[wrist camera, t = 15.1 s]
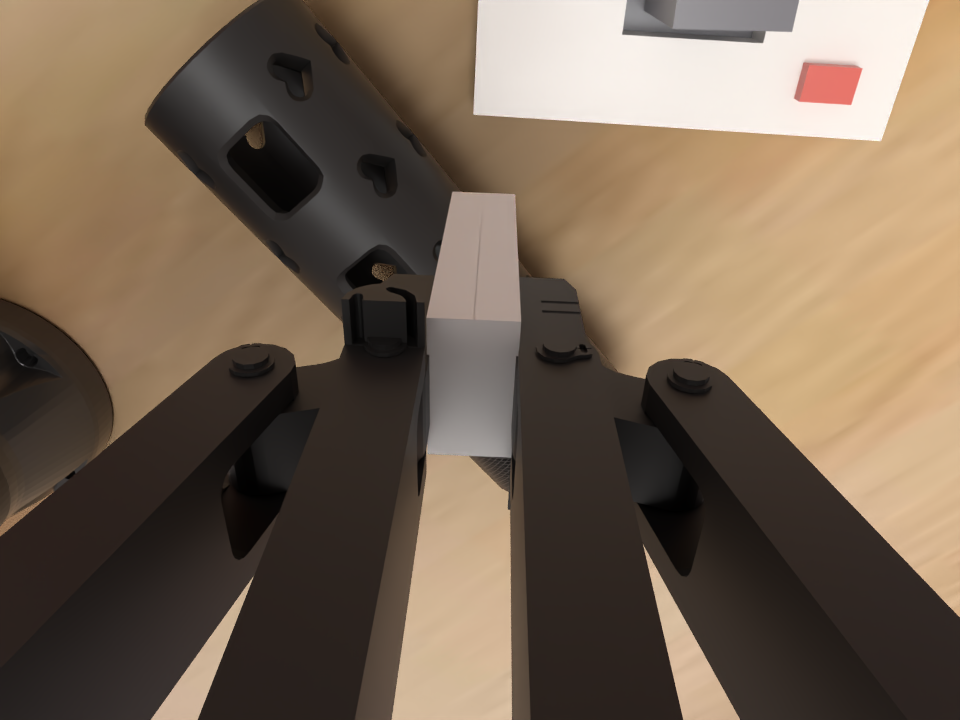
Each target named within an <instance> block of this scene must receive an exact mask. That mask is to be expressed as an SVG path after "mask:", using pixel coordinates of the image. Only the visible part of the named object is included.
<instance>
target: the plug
mask: <svg viewBox="0 0 960 720" xmlns="http://www.w3.org/2000/svg"><path fill="white" fill-rule="evenodd" d="M798 4H799V0H645V5H644V11H645V12H647V13H648V14H650V15H651V16H653V17H655V18H656V19H658V20H659V21H661V22H663V23H664V24H666V25H667V26H669V27H670V28H672V29H696V30H735V31H774V32H792V30H793V26H794V21H795V17H796V12H797V8H798Z"/></svg>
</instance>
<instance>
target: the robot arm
mask: <svg viewBox="0 0 960 720" xmlns="http://www.w3.org/2000/svg"><path fill="white" fill-rule="evenodd" d="M341 303H342V316H343V328H344V341H345V345H344V348H343V350H342V353H341V356H340V358H339V359H336V360H334V361H331V362H327V363H322V364H317V365H310V366H303V367H296V363H295V358H294V355H293V354H292V353H291V352H290V351H288V350H287V349H286V348H282V347H279V346H276V345H270V344H261V343H254V344H252V345H250V344H246V345H241V346H239V347H237V348H233V349H230V350H227V351H225V352H223V353H222V354H220V355H218V356H217V357H215V358H214V359H213V360H211V361H210V362H209V363H208V364H207V365H205V366H204V367H203V368H202V369H201V370H199V371H198V372H197V373H196V374H195V375H193V376H192V377H191V378H190V379H189V380H187V381H186V382H185V383H184V384H183V385H181V386H180V387H179V388H178V389H177V390H175V391H174V392H173V393H172V394H171V395H169V396H168V397H167V398H166V399H165V400H163V401H162V402H161V403H160V404H159V405H157V406H156V407H155V408H154V409H153V410H151V411H150V412H149V413H148V414H147V415H145V416H144V417H143V418H142V419H141V420H140V421H138V422H137V423H136V424H135V425H134V426H132V427H131V428H130V429H129V430H128V431H126V432H125V433H124V434H123V435H122V436H120V437H119V438H118V439H117V440H116V441H114V442H113V443H112V444H111V445H110V446H108V447H107V448H106V449H105V450H104V451H103V449H104V448H105V446H106V444H107V442H108V440H109V438H110V434H111V431H112V423H113V415H112V406H111V402H110V398H109V395H108V392H107V389H106V387H105V385H104V383H103V381H102V379H101V377H100V375H99V373H98V372H97V370H96V369H95V367H94V366H93V364H92V363H91V362H90V360H89V359H88V358H87V357H86V355H85V354H84V353H83V352H82V351H81V350H80V349H79V348H78V347H77V346H76V344H74V343H73V342H72V341H71V340H70V339H69V338H68V337H67V336H66V335H64V334H63V333H62V332H61V331H59V330H58V329H57V328H56V327H54V326H53V325H51V324H50V323H48V322H47V321H45V320H44V319H42V318H40V317H39V316H37V315H35V314H33V313H32V312H30V311H28V310H26V309H24V308H21V307H19V306H17V305H14V304H12V303H9V302H6V301H4V300H0V526H1V525H2V524H3V522H4V521H5V520H7V519H8V518H10V517H11V516H13V515H15V514H17V513H18V512H20V511H22V510H24V509H26V508H27V507H29V506H31V505H33V504H34V503H36V502H38V501H40V500H41V499H43V498H45V497H46V496H48V495H49V494H51V493H52V492H53V493H52V494H51V495H50V496H48V497H47V498H46V499H45V500H44V501H42V502H41V503H40V504H39V505H38V506H36V507H35V508H34V509H33V510H32V511H31V512H29V513H28V514H27V515H26V516H25V517H23V518H22V519H21V520H20V521H19V522H17V523H16V524H15V525H14V526H13V527H11V528H10V529H9V530H8V531H7V532H5V533H4V534H3V535H2V536H1V537H0V720H151V718H152V717H153V716H154V714H155V713H156V711H157V710H158V709H159V707H160V706H161V704H162V703H163V702H164V700H165V699H166V697H167V696H168V695H169V693H170V692H171V690H172V689H173V688H174V686H175V685H176V683H177V682H178V681H179V679H180V678H181V676H182V675H183V674H184V672H185V671H186V669H187V668H188V667H189V665H190V664H191V662H192V661H193V660H194V658H195V657H196V656H197V654H198V653H199V651H200V650H201V649H202V647H203V646H204V644H205V643H206V642H207V640H208V639H209V637H210V636H211V635H212V633H213V632H214V630H215V629H216V628H217V626H218V625H219V623H220V622H221V621H222V619H223V618H224V616H225V615H226V614H227V612H228V611H229V609H230V608H231V607H232V605H233V604H234V602H235V601H236V600H237V598H238V597H239V595H240V594H241V593H242V591H243V590H244V588H245V587H246V586H247V584H248V583H249V581H250V580H251V579H252V577H253V576H254V578H253V580H252V583H251V585H250V588H249V590H248V593H247V595H246V598H245V601H244V603H243V606H242V608H241V611H240V613H239V616H238V618H237V621H236V624H235V626H234V629H233V631H232V634H231V636H230V639H229V641H228V644H227V647H226V649H225V652H224V654H223V657H222V659H221V662H220V664H219V667H218V670H217V672H216V675H215V677H214V680H213V682H212V685H211V687H210V690H209V692H208V695H207V698H206V700H205V703H204V705H203V708H202V710H201V713H200V715H199V718H198V720H391V719H392V712H393V705H394V698H395V691H396V684H397V677H398V670H399V663H400V655H401V648H402V641H403V634H404V627H405V620H406V613H407V606H408V599H409V592H410V585H411V578H412V571H413V564H414V557H415V550H416V542H417V535H418V528H419V521H420V514H421V507H422V500H423V493H424V486H425V479H426V447H427V441H428V454H438V455H461V456H485V457H508V458H511V470H510V484H509V499H508V509H509V510H510V524H511V642H512V720H683V717H682V713H681V709H680V704H679V700H678V695H677V691H676V687H675V682H674V678H673V674H672V669H671V665H670V661H669V656H668V652H667V647H666V643H665V639H664V634H663V630H662V626H661V621H660V617H659V613H658V608H657V604H656V600H655V595H654V591H653V586H652V582H651V578H650V573H649V569H648V565H647V560H646V556H645V552H644V547H645V548H646V550H647V552H648V554H649V556H650V557H651V559H652V561H653V563H654V565H655V566H656V568H657V570H658V572H659V574H660V575H661V577H662V579H663V581H664V583H665V584H666V586H667V588H668V590H669V592H670V593H671V595H672V597H673V599H674V601H675V602H676V604H677V606H678V608H679V610H680V612H681V613H682V615H683V617H684V619H685V621H686V622H687V624H688V626H689V628H690V630H691V631H692V633H693V635H694V637H695V639H696V640H697V642H698V644H699V646H700V648H701V649H702V651H703V653H704V655H705V657H706V658H707V660H708V662H709V664H710V666H711V668H712V669H713V671H714V673H715V675H716V677H717V678H718V680H719V682H720V684H721V686H722V687H723V689H724V691H725V693H726V695H727V696H728V698H729V700H730V702H731V704H732V705H733V707H734V709H735V711H736V713H737V714H738V716H739V718H740V720H960V617H959V616H958V615H957V614H956V613H955V612H954V611H953V610H952V609H951V608H950V607H949V606H948V605H947V604H946V603H945V602H944V601H943V600H942V599H941V598H940V597H939V596H938V595H937V593H936V592H935V591H934V590H933V589H932V588H931V587H930V586H929V585H928V584H927V583H926V582H925V581H924V580H923V579H922V578H921V577H920V576H919V575H918V574H917V573H916V572H915V571H914V570H913V568H912V567H911V566H910V565H909V564H908V563H907V562H906V561H905V560H904V559H903V558H902V557H901V556H900V555H899V554H898V553H897V552H896V551H895V550H894V549H893V548H892V547H891V546H890V545H889V543H888V542H887V541H886V540H885V539H884V538H883V537H882V536H881V535H880V534H879V533H878V532H877V531H876V530H875V529H874V528H873V527H872V526H871V525H870V524H869V523H868V522H867V521H866V520H865V518H864V517H863V516H862V515H861V514H860V513H859V512H858V511H857V510H856V509H855V508H854V507H853V506H852V505H851V504H850V503H849V502H848V501H847V500H846V499H845V498H844V497H843V496H842V495H841V493H840V492H839V491H838V490H837V489H836V488H835V487H834V486H833V485H832V484H831V483H830V482H829V481H828V480H827V479H826V478H825V477H824V476H823V475H822V474H821V473H820V472H819V471H818V469H817V468H816V467H815V466H814V465H813V464H812V463H811V462H810V461H809V460H808V459H807V458H806V457H805V456H804V455H803V454H802V453H801V452H800V451H799V450H798V449H797V448H796V447H795V446H794V444H793V443H792V442H791V441H790V440H789V439H788V438H787V437H786V436H785V435H784V434H783V433H782V432H781V431H780V430H779V429H778V428H777V427H776V426H775V425H774V424H773V423H772V422H771V421H770V419H769V418H768V417H767V416H766V415H765V414H764V413H763V412H762V411H761V410H760V409H759V408H758V407H757V406H756V405H755V404H754V403H753V402H752V401H751V400H750V399H749V398H748V397H747V396H746V394H745V393H744V392H743V391H742V390H741V389H740V388H739V387H738V386H737V385H736V384H735V383H734V382H733V381H732V380H731V379H730V378H729V377H728V376H727V375H725V374H724V373H723V372H721V371H720V370H719V369H717V368H715V367H712V366H710V365H708V364H705V363H704V362H701V361H697V360H695V361H693V359H668V360H663V361H659V362H657V363H655V364H654V365H652V366H650V367H649V369H648V372H647V375H646V379H642V378H637V377H633V376H628V375H625V374H621V373H618V372H615V371H613V370H610V369H608V368H606V367H604V366H603V365H602V364H601V360H600V355H599V353H598V352H597V350H596V348H595V347H594V346H593V345H591V344H590V343H588V342H587V339H586V335H585V330H584V325H583V320H582V316H581V311H580V306H579V301H578V297H577V292H576V289H574V288H573V287H572V286H571V285H570V284H569V283H568V282H567V281H566V280H564V279H555V278H530V277H519V266H518V245H517V224H516V203H515V194H500V193H474V192H452V196H451V201H450V206H449V211H448V216H447V220H446V225H445V230H444V235H443V240H442V245H441V249H440V254H439V259H438V264H437V269H436V274H435V275H410V274H393V275H391V276H390V277H389V278H387V279H386V280H385V281H383V282H382V283H380V284H371V285H367V286H362V287H358V288H356V289H354V290H352V291H350V292H347V293H346V295H345V296H344V297H343V298H342V299H341ZM643 545H644V547H643Z"/></svg>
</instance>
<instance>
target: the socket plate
mask: <svg viewBox="0 0 960 720" xmlns="http://www.w3.org/2000/svg"><path fill="white" fill-rule="evenodd" d="M928 2H929V0H799V4H798V8H797V12H796V17H795V21H794V26H793V30H792V32H774V31H735V30H696V29H672V28H670V27H669V26H667V25H666V24H664V23H663V22H661V21H659V20H658V19H656V18H655V17H653V16H651V15H650V14H648V13H647V12H645V11H644V5H645V0H478V20H477V44H476V67H475V90H474V114H473V115H487V116H502V117H518V118H533V119H549V120H564V121H579V122H595V123H610V124H626V125H641V126H657V127H672V128H687V129H703V130H718V131H734V132H749V133H765V134H780V135H796V136H811V137H826V138H842V139H857V140H873V141H881V140H882V137H883V134H884V131H885V128H886V125H887V122H888V119H889V116H890V113H891V110H892V107H893V105H894V102H895V99H896V96H897V93H898V90H899V87H900V84H901V81H902V78H903V75H904V72H905V69H906V67H907V64H908V61H909V58H910V55H911V52H912V49H913V46H914V43H915V40H916V37H917V34H918V32H919V29H920V26H921V23H922V20H923V17H924V14H925V11H926V8H927V5H928Z"/></svg>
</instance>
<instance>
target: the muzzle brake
mask: <svg viewBox="0 0 960 720" xmlns="http://www.w3.org/2000/svg"><path fill="white" fill-rule="evenodd" d="M259 122H260V123H261V132H262V140H263V143H262V146H261V148H259V149H254V148H252V147H251V146H250V145H249V144H248V142H247V138H246V136H245V134H246V133H247V132H248V131H249V130H250V129H251V128H252V127H253V126H254V125H256V124H258V123H259ZM145 126H146V127H147V128H148V129H149V130H150V131H151V132H152V133H153V134H154V135H155V136H156V137H157V138H158V139H159V140H160V141H161V142H162V143H163V144H164V145H165V146H166V147H167V148H168V149H169V150H170V151H171V152H172V153H173V154H174V155H175V156H176V157H177V158H178V159H179V160H180V161H181V162H182V163H183V164H184V165H185V166H186V167H187V168H188V169H189V170H190V171H192V172H193V173H194V174H195V175H196V176H197V177H198V179H199V180H200V181H201V182H202V183H203V184H204V185H205V186H206V187H207V188H208V189H209V190H210V191H211V192H212V193H213V194H214V195H215V196H216V197H217V198H218V199H219V200H220V201H221V202H222V203H223V204H224V205H225V206H226V207H227V208H228V209H229V210H230V211H231V212H232V213H233V214H234V215H235V216H236V217H237V218H238V219H239V220H240V221H241V222H242V223H243V224H244V225H245V226H246V227H247V228H248V229H249V230H250V231H251V232H252V233H253V234H254V235H255V236H256V237H257V238H258V239H259V240H260V241H261V242H262V243H263V244H264V245H265V246H266V247H267V248H268V249H269V250H270V251H271V252H272V253H273V254H274V255H276V256H277V257H278V258H279V259H280V260H281V261H282V262H283V264H284V265H285V266H286V267H287V268H288V269H289V270H290V271H291V272H292V273H293V274H294V275H295V276H296V277H297V278H299V279H300V280H301V281H302V282H303V283H304V284H305V285H306V286H307V287H308V288H309V289H310V290H311V291H312V292H313V293H314V294H315V295H316V296H317V297H318V298H319V299H320V300H321V301H322V302H323V303H324V304H325V305H326V306H327V307H328V308H329V309H330V310H331V311H332V312H333V313H334V314H335V315H336V316H337V317H338V318H339V319H340V320H341V321H342V322H343V316H342V303H341V299H342V298H343V297H344V296H345V295H346V293H347V292H350V291H352V290H354V289H356V288H358V287H362V286H367V285H371V284H380V283H382V282H383V281H382V280H379V279H377V278H375V277H374V276H373V274H372V267H373V265H374V264H380V265H387V266H393V274H410V275H435V274H436V269H437V264H438V259H439V254H440V249H441V245H442V240H443V235H444V230H445V225H446V220H447V216H448V211H449V206H450V201H451V196H452V192H462V191H461V190H460V189H459V188H458V187H457V185H456V184H455V183H454V182H453V181H452V179H451V178H450V177H449V176H448V175H447V173H446V172H445V171H444V170H443V169H442V167H441V166H440V165H439V164H438V163H437V161H436V160H435V159H434V158H433V157H432V155H431V154H430V153H429V152H428V151H427V149H426V148H425V147H424V146H423V145H422V143H421V142H420V141H419V140H418V139H417V137H416V136H415V135H414V134H413V133H412V131H411V130H410V129H409V128H408V126H407V125H406V124H405V123H404V122H403V120H402V119H401V118H400V117H399V116H398V114H397V113H396V112H395V111H394V110H393V108H392V107H391V106H390V105H389V104H388V102H387V101H386V100H385V99H384V98H383V96H382V95H381V94H380V93H379V92H378V90H377V89H376V88H375V87H374V86H373V84H372V83H371V82H370V81H369V79H368V78H367V77H366V76H365V75H364V73H363V72H362V71H361V70H360V69H359V67H358V66H357V65H356V64H355V63H354V61H353V60H352V59H351V58H350V57H349V55H348V54H347V53H346V52H345V51H344V49H343V48H342V47H341V46H340V45H339V44H338V42H337V41H336V40H335V39H334V37H333V36H332V35H331V34H330V33H329V31H328V30H327V29H326V28H325V27H324V25H323V24H322V23H321V22H320V20H319V19H318V18H317V17H316V16H315V14H314V13H313V12H312V11H311V10H310V8H309V7H308V6H307V5H306V4H305V2H304V1H303V0H258V1H257V2H255V3H254V4H252V5H251V6H249V7H248V8H247V9H245V10H244V11H243V12H241V13H240V14H239V15H237V16H236V17H235V18H234V19H233V20H231V21H230V22H229V23H228V24H227V25H225V26H224V27H223V28H222V29H221V30H220V31H218V32H217V33H216V34H215V35H214V36H213V37H212V38H211V39H209V40H208V41H207V42H206V43H205V44H204V45H203V46H202V47H201V48H200V49H199V50H198V51H197V52H196V53H195V54H194V55H193V56H192V57H191V58H190V59H189V60H188V61H187V62H186V63H185V64H184V65H183V66H182V67H181V68H180V69H179V70H178V71H177V72H176V73H175V75H174V76H173V77H172V78H171V79H170V80H169V81H168V83H167V84H166V85H165V86H164V87H163V88H162V90H161V91H160V92H159V94H158V95H157V96H156V98H155V99H154V100H153V102H152V104H151V105H150V107H149V108H148V110H147V113H146V115H145ZM518 266H519V277H530V278H533V277H532V276H531V275H530V273H529V272H528V271H527V270H526V269H525V267H524V266H523V265H522V264H521V263H520V261H519V260H518ZM585 335H586V334H585ZM586 339H587V342H588V343H590V344H591V345H593V346H594V347H595V348H596V350H597V352H598V353H599V355H600V360H601V364H602V365H603V366H604V367H606V368H608V369H610V370H613V371H615V372H617V370H616V369H615V368H614V367H613V366H612V364H611V363H610V362H609V361H608V360H607V358H606V357H605V356H604V355H603V353H602V352H601V351H600V350H599V349H598V347H597V346H596V345H595V344H594V343H593V341H592V340H591V339H590V338H589V337H588V336H587V335H586ZM470 457H471V458H472V459H473V460H474V461H475V462H476V463H477V464H478V465H479V466H480V467H481V468H482V469H483V470H484V471H485V472H486V473H487V474H488V475H489V476H490V477H491V478H492V479H493V480H494V481H495V482H496V483H497V484H498V485H499V486H500V487H501V488H502V489H504V490H506V491H508V492H509V484H510V470H511V458H508V457H485V456H470Z"/></svg>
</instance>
